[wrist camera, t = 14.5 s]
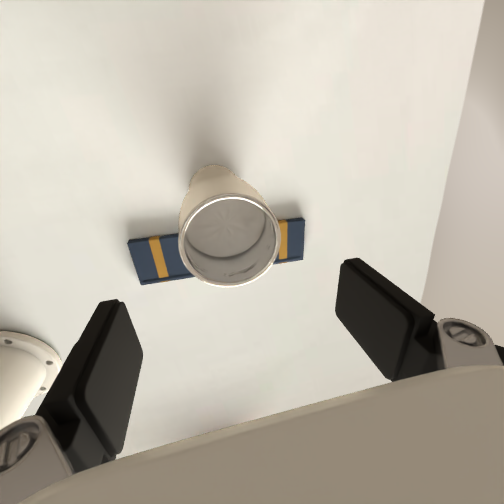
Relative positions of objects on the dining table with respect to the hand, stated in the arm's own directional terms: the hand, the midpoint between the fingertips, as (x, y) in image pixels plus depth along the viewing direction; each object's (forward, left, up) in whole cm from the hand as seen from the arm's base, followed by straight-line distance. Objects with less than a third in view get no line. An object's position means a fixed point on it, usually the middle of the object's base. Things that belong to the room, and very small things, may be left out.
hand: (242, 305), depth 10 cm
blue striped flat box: (0, -7, -21) cm, 22 cm away
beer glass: (0, 0, -21) cm, 21 cm away
